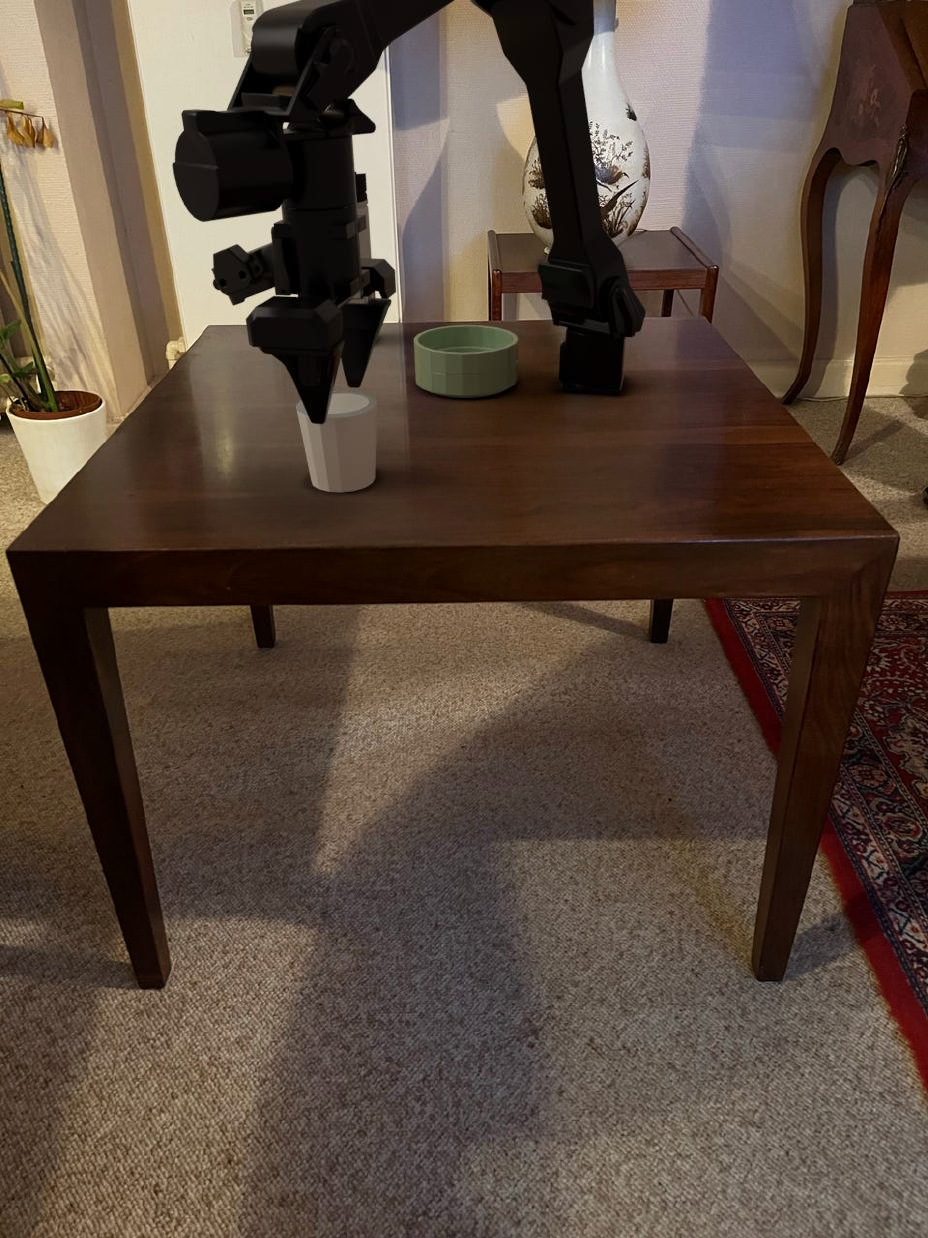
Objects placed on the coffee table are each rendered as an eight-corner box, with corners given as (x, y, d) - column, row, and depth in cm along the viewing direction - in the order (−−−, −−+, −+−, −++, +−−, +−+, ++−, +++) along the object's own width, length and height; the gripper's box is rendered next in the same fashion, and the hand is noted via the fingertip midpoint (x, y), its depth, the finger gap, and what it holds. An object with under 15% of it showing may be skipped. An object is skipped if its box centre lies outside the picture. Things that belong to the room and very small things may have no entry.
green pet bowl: (524, 370, 108) (525, 327, 105) (507, 403, 99) (507, 356, 96) (429, 365, 110) (428, 322, 107) (403, 396, 101) (401, 350, 98)
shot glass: (394, 468, 84) (389, 393, 80) (362, 499, 78) (356, 420, 75) (325, 460, 86) (318, 386, 82) (290, 489, 80) (280, 411, 77)
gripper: (267, 185, 80) (288, 366, 88) (162, 223, 64) (199, 437, 72) (392, 187, 77) (402, 372, 86) (314, 227, 62) (335, 447, 70)
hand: (337, 404), depth 79 cm, fingers open, 9 cm apart
